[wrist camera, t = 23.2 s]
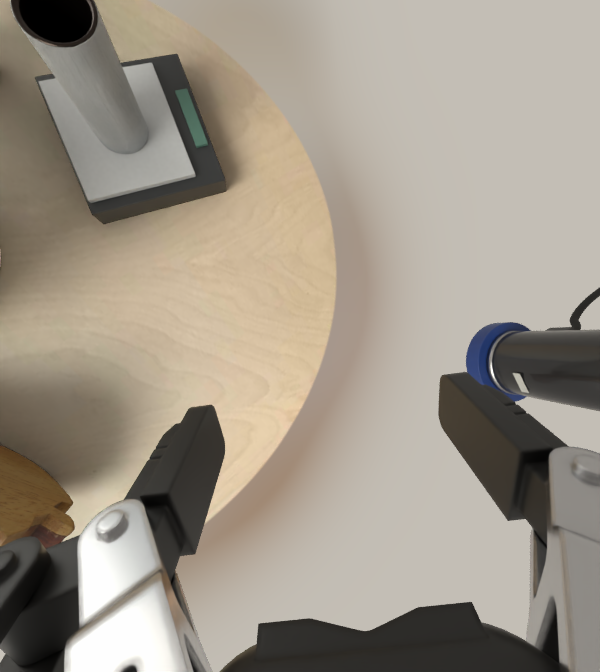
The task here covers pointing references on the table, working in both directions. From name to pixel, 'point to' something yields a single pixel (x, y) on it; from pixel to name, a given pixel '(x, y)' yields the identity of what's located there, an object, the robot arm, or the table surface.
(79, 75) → the planter
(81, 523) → the table surface
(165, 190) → the scale
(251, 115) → the table surface
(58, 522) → the wooden carving
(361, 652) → the robot arm
